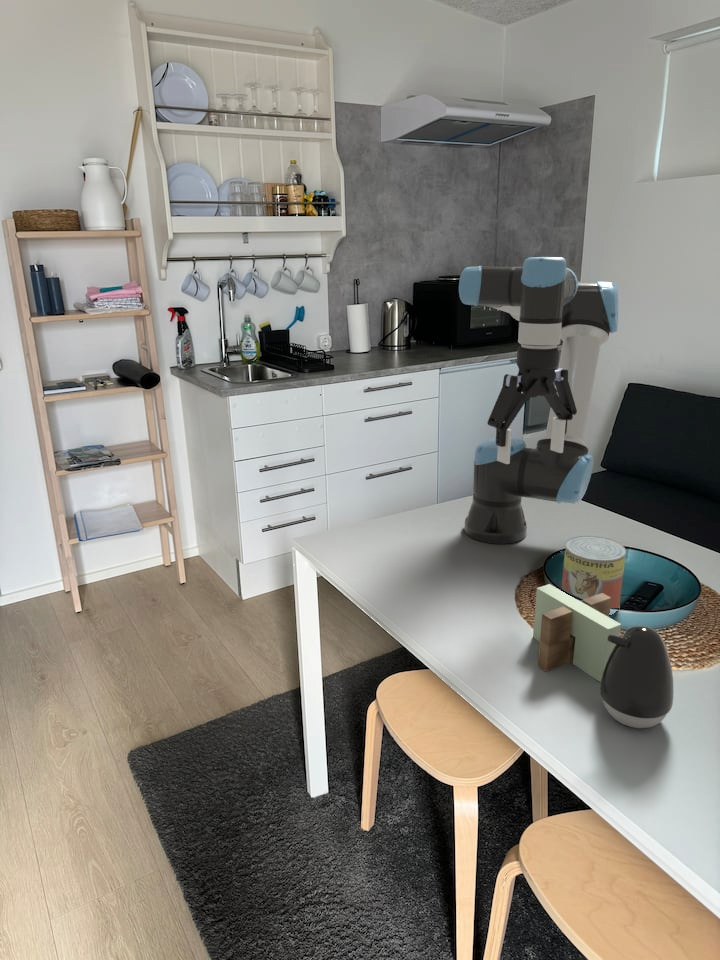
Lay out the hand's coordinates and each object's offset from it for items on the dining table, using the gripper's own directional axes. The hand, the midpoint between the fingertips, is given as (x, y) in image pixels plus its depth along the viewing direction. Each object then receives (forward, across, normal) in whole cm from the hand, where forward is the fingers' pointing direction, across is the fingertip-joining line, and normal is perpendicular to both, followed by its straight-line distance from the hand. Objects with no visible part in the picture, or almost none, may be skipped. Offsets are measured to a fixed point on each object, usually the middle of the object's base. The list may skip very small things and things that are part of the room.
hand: (530, 456), depth 133 cm
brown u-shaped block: (+29, +9, +23) cm, 38 cm away
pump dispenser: (+29, +13, +39) cm, 50 cm away
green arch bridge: (+29, +9, +23) cm, 38 cm away
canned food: (+29, -8, +11) cm, 32 cm away
